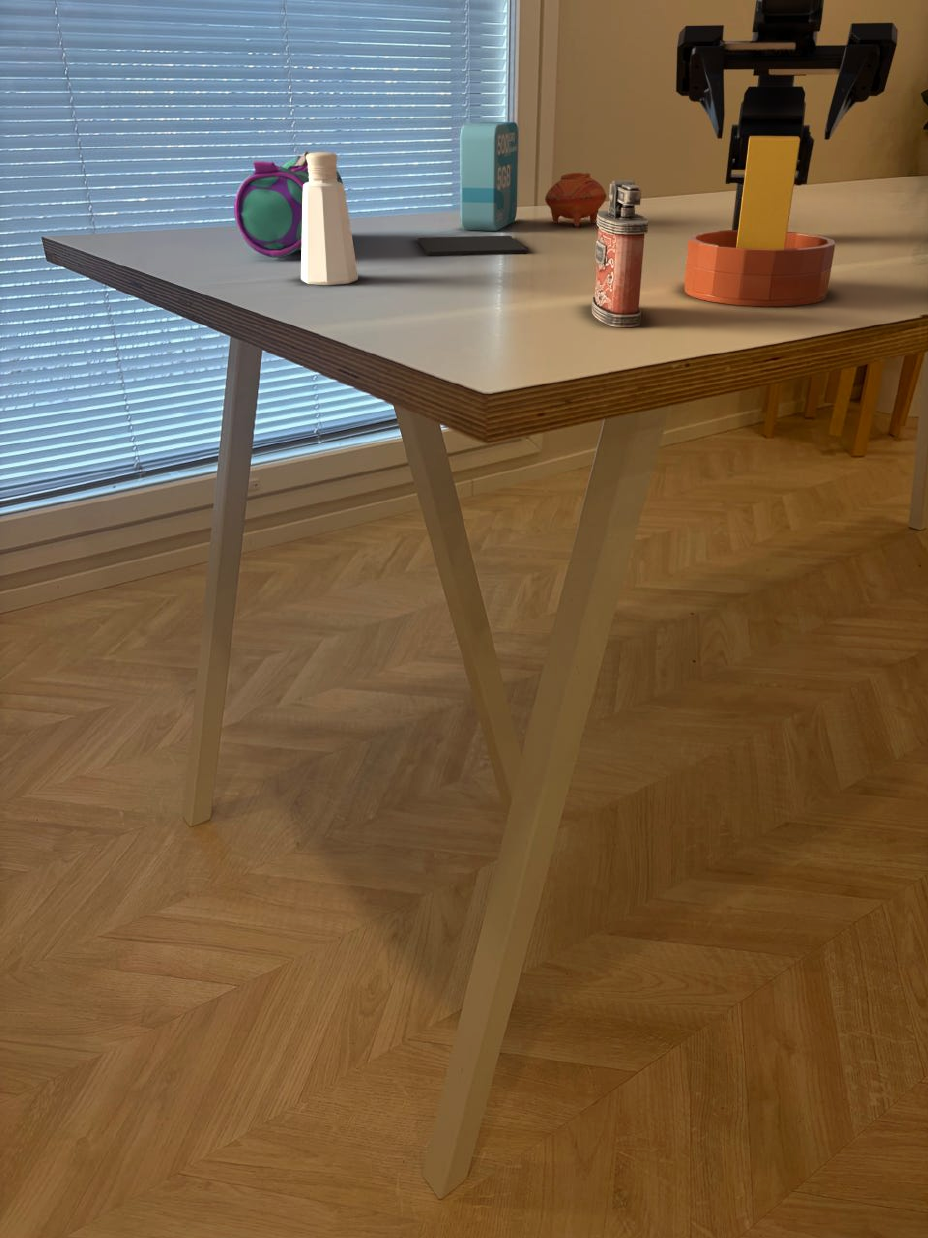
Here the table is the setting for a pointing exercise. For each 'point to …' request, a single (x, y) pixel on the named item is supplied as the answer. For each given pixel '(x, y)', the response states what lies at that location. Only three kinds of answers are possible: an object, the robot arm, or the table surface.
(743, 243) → the block
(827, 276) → the bowl
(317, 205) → the pepper shaker
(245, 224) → the pencil case
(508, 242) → the mat
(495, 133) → the data package
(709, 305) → the table surface
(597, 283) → the lighter
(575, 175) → the pot
